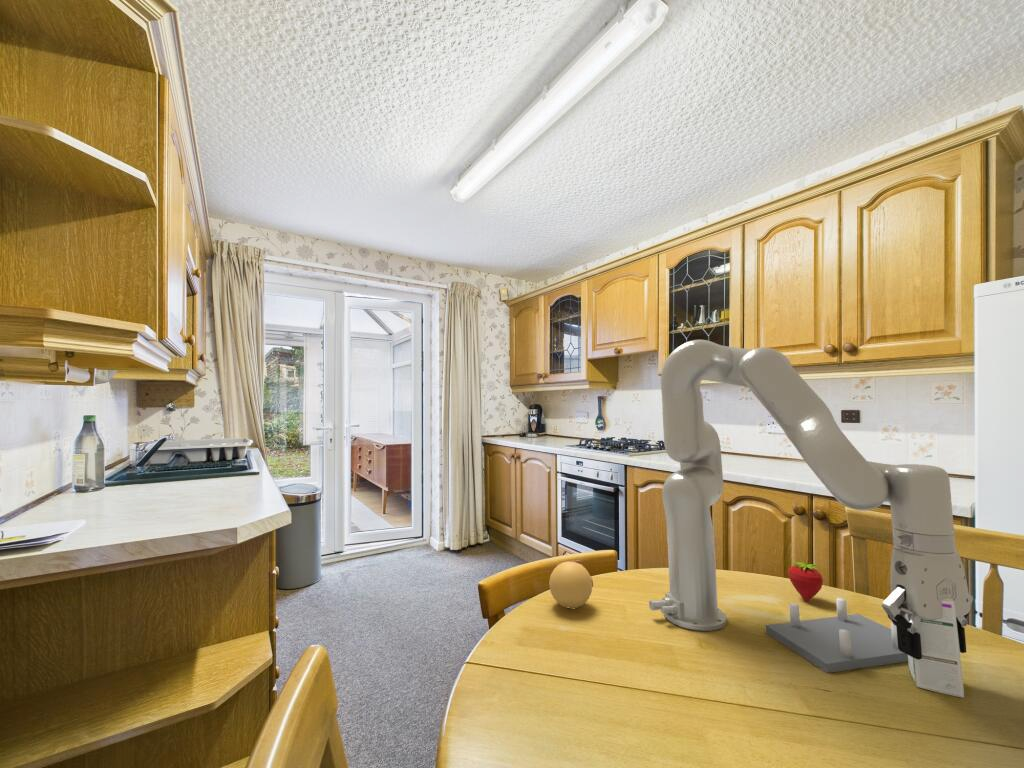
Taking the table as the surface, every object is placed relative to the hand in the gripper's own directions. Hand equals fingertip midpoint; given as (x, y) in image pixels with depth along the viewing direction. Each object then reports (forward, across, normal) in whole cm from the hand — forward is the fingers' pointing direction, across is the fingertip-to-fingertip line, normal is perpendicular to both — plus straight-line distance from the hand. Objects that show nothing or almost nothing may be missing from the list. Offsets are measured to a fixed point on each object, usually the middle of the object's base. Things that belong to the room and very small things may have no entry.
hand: (932, 651), depth 71 cm
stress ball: (+5, -48, +40) cm, 63 cm away
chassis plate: (+5, -3, +13) cm, 14 cm away
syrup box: (+5, 0, 0) cm, 5 cm away
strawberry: (+5, +6, +31) cm, 32 cm away
